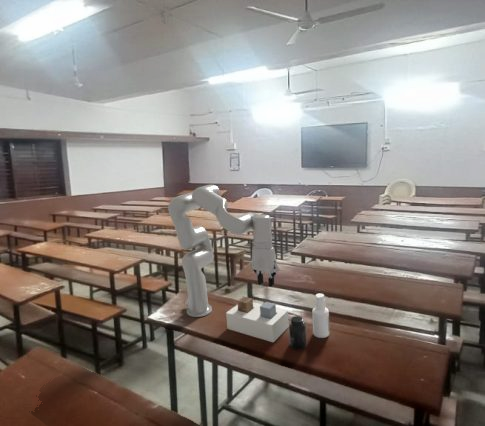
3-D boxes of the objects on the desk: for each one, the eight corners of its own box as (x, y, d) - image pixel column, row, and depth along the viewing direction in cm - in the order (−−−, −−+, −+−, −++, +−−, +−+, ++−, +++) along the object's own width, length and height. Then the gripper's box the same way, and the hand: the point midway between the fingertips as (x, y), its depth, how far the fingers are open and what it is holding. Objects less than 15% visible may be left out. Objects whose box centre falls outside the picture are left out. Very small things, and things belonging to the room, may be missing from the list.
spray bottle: (332, 332, 158) (331, 294, 154) (324, 340, 154) (322, 300, 150) (318, 327, 163) (317, 290, 159) (310, 334, 158) (308, 296, 154)
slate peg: (260, 320, 162) (259, 306, 160) (266, 314, 166) (265, 301, 164) (270, 322, 159) (269, 308, 158) (276, 317, 163) (275, 303, 162)
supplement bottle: (287, 348, 150) (285, 321, 148) (293, 339, 156) (291, 313, 153) (303, 351, 147) (302, 324, 144) (308, 342, 153) (307, 316, 150)
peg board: (227, 328, 168) (226, 312, 167) (244, 314, 180) (243, 299, 178) (273, 342, 155) (272, 325, 153) (288, 326, 166) (287, 310, 164)
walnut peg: (238, 314, 169) (237, 301, 167) (244, 309, 173) (243, 296, 171) (247, 316, 166) (246, 303, 164) (253, 311, 170) (252, 298, 168)
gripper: (241, 244, 157) (245, 284, 161) (276, 249, 147) (279, 291, 151) (251, 239, 162) (254, 278, 167) (285, 243, 153) (287, 284, 157)
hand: (266, 284), depth 159 cm, fingers open, 4 cm apart
